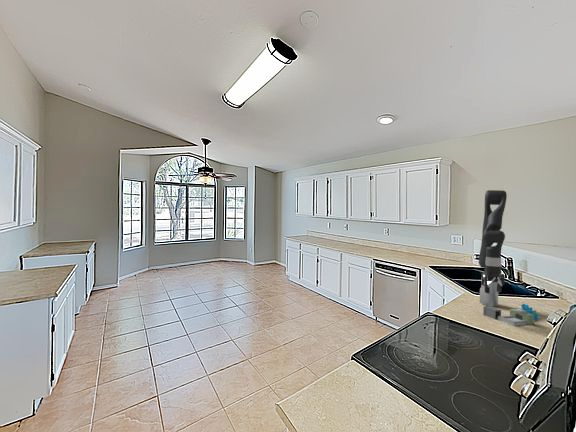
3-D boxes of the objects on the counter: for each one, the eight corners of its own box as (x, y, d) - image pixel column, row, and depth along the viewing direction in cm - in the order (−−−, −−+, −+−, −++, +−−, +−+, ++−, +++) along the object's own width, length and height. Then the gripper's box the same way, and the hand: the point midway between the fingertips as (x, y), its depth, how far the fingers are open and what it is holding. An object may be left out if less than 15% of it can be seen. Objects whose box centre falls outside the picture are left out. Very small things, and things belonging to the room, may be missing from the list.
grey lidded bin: (483, 314, 167) (483, 306, 166) (490, 314, 168) (490, 305, 168) (494, 319, 160) (494, 310, 160) (501, 318, 161) (501, 309, 161)
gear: (532, 319, 155) (519, 302, 162) (523, 324, 159) (510, 307, 166) (544, 319, 159) (531, 303, 166) (535, 324, 163) (522, 308, 170)
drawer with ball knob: (497, 319, 160) (497, 308, 159) (515, 317, 163) (515, 307, 163) (514, 326, 150) (515, 315, 150) (534, 324, 153) (534, 313, 153)
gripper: (496, 263, 169) (496, 290, 169) (477, 264, 165) (477, 291, 165) (509, 265, 161) (509, 293, 161) (489, 266, 158) (489, 295, 158)
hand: (493, 292), depth 163 cm, fingers open, 8 cm apart
